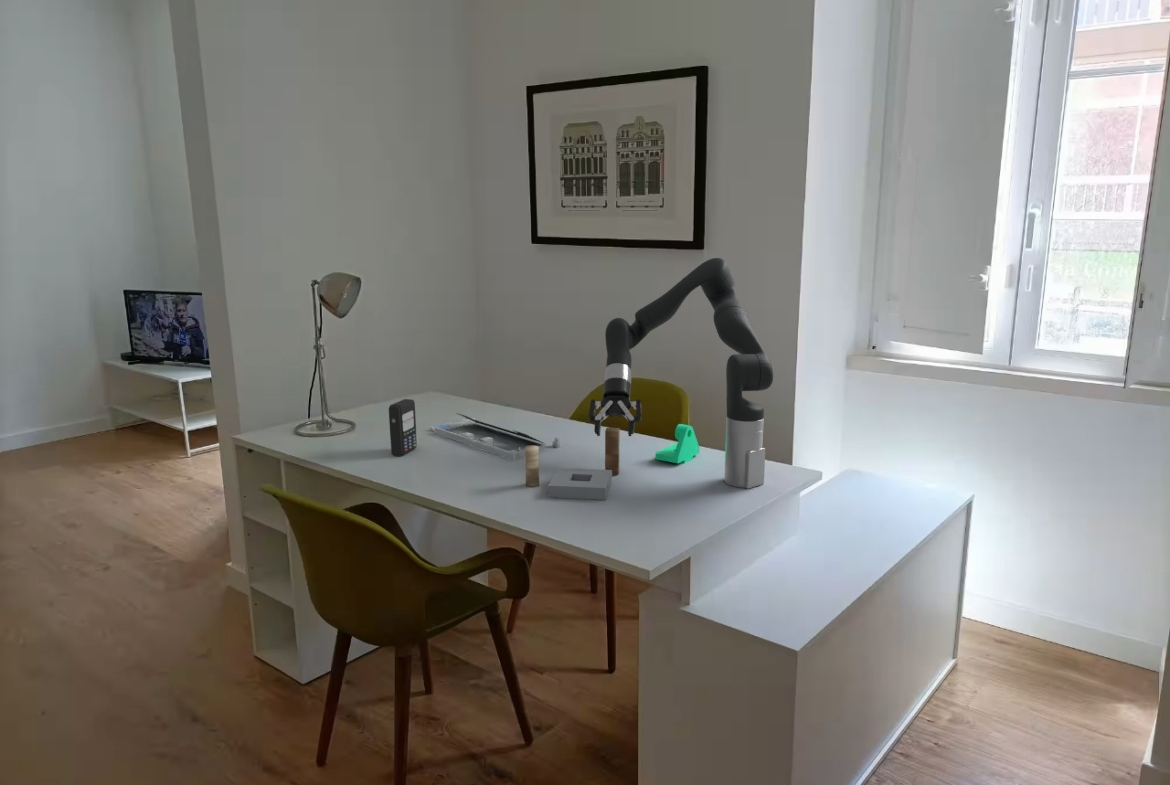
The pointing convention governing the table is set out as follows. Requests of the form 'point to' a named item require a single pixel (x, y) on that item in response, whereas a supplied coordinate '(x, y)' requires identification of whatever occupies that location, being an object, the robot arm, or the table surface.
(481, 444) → the paper cutter
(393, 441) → the card reader
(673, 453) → the camera mount
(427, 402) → the table surface
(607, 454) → the walnut bar
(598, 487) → the bore plate
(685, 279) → the robot arm
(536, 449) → the beech dowel
